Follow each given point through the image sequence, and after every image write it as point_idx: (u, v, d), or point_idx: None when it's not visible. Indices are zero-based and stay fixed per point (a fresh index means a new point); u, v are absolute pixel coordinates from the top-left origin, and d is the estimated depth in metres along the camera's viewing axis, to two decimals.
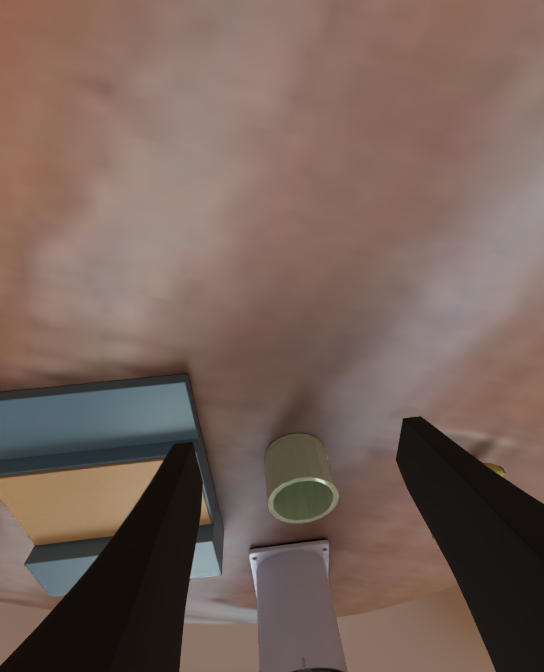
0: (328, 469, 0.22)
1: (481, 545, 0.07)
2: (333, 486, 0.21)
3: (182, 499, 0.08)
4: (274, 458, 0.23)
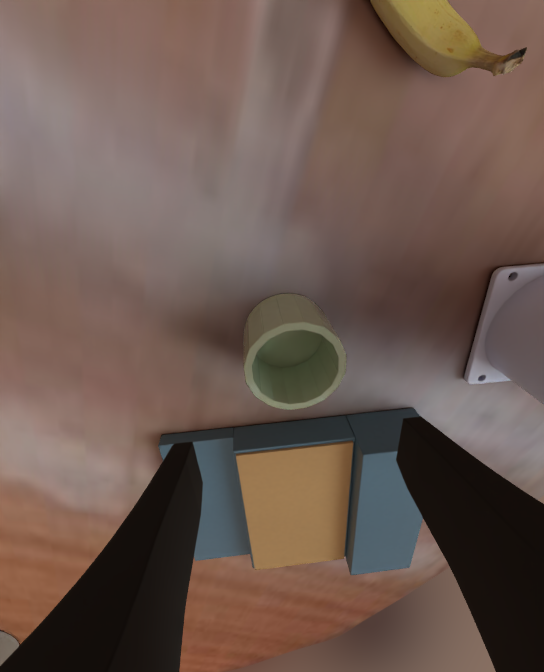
0: (260, 323, 0.15)
1: (481, 545, 0.07)
2: (267, 333, 0.14)
3: (182, 499, 0.08)
4: None
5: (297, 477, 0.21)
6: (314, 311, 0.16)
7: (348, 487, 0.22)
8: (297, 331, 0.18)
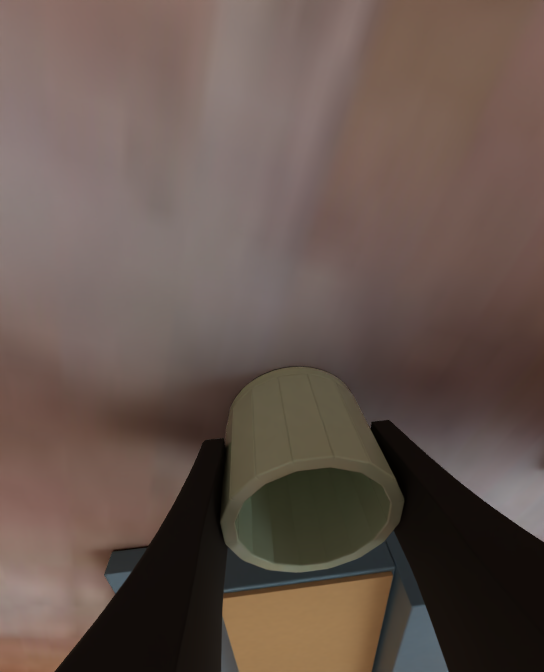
0: (251, 439, 0.08)
1: (436, 551, 0.07)
2: (263, 475, 0.07)
3: (218, 495, 0.09)
4: None
5: (309, 616, 0.14)
6: (344, 411, 0.09)
7: (381, 622, 0.15)
8: None
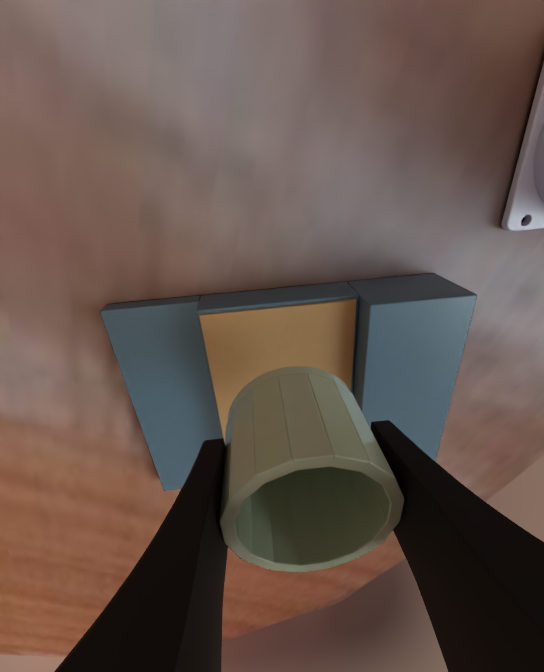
0: (251, 438, 0.08)
1: (436, 551, 0.07)
2: (262, 474, 0.07)
3: (218, 495, 0.09)
4: None
5: (283, 355, 0.16)
6: (344, 410, 0.09)
7: (350, 374, 0.17)
8: None
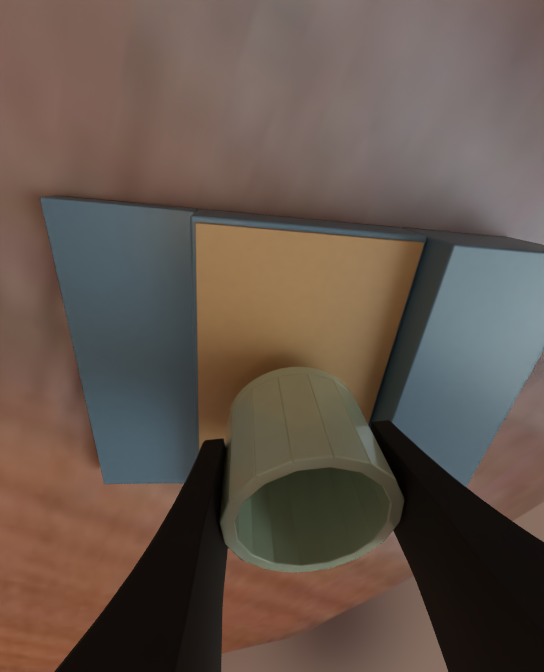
0: (251, 439, 0.08)
1: (436, 551, 0.07)
2: (263, 475, 0.07)
3: (218, 495, 0.09)
4: None
5: (306, 310, 0.11)
6: (344, 411, 0.09)
7: (388, 354, 0.12)
8: None
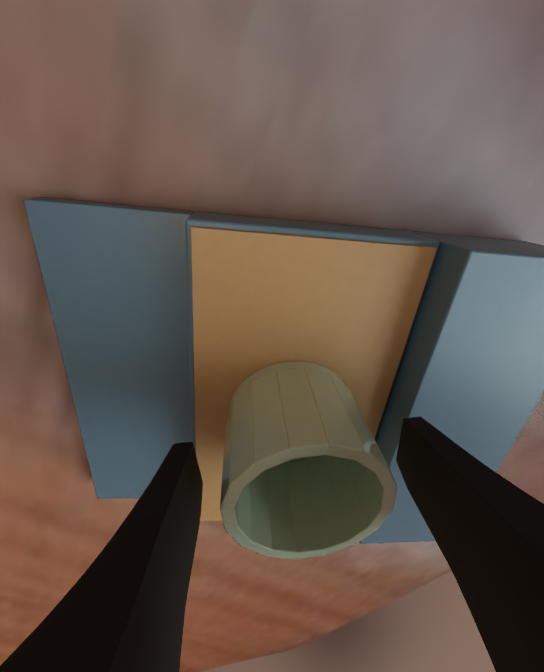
0: (250, 429, 0.09)
1: (481, 545, 0.07)
2: (261, 462, 0.08)
3: (182, 499, 0.08)
4: None
5: (310, 320, 0.10)
6: (340, 403, 0.09)
7: (396, 365, 0.12)
8: None
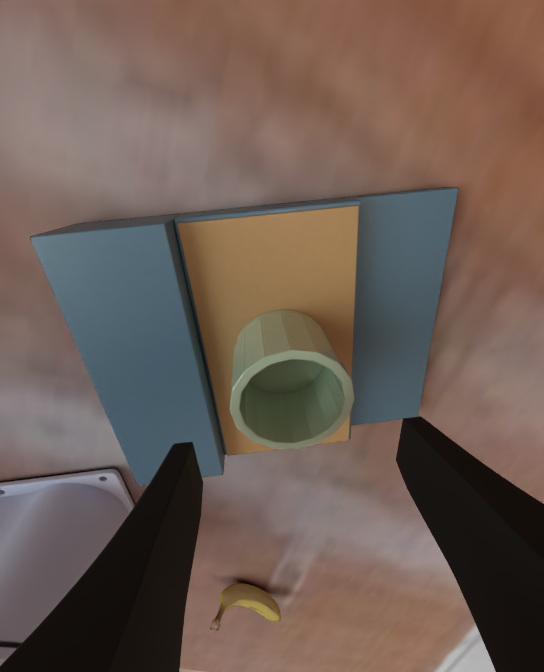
0: None
1: (481, 545, 0.07)
2: (330, 434, 0.13)
3: (182, 499, 0.08)
4: (316, 330, 0.14)
5: None
6: None
7: (217, 400, 0.17)
8: (271, 366, 0.16)
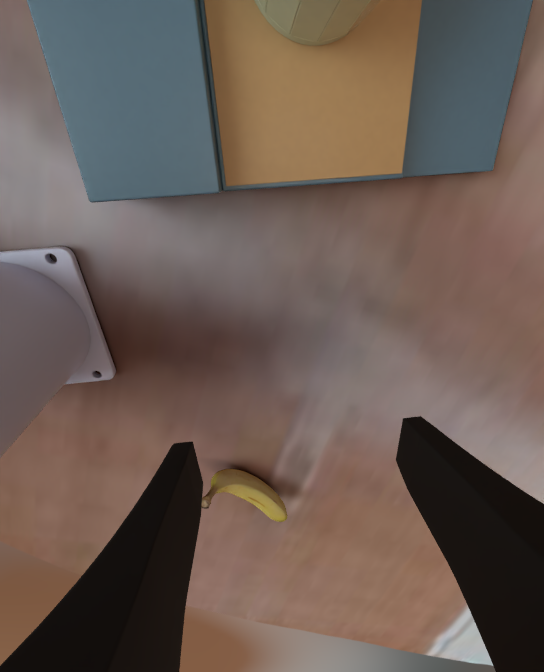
0: None
1: (481, 545, 0.07)
2: None
3: (182, 499, 0.08)
4: None
5: (312, 101, 0.12)
6: (301, 13, 0.09)
7: (212, 49, 0.11)
8: None
